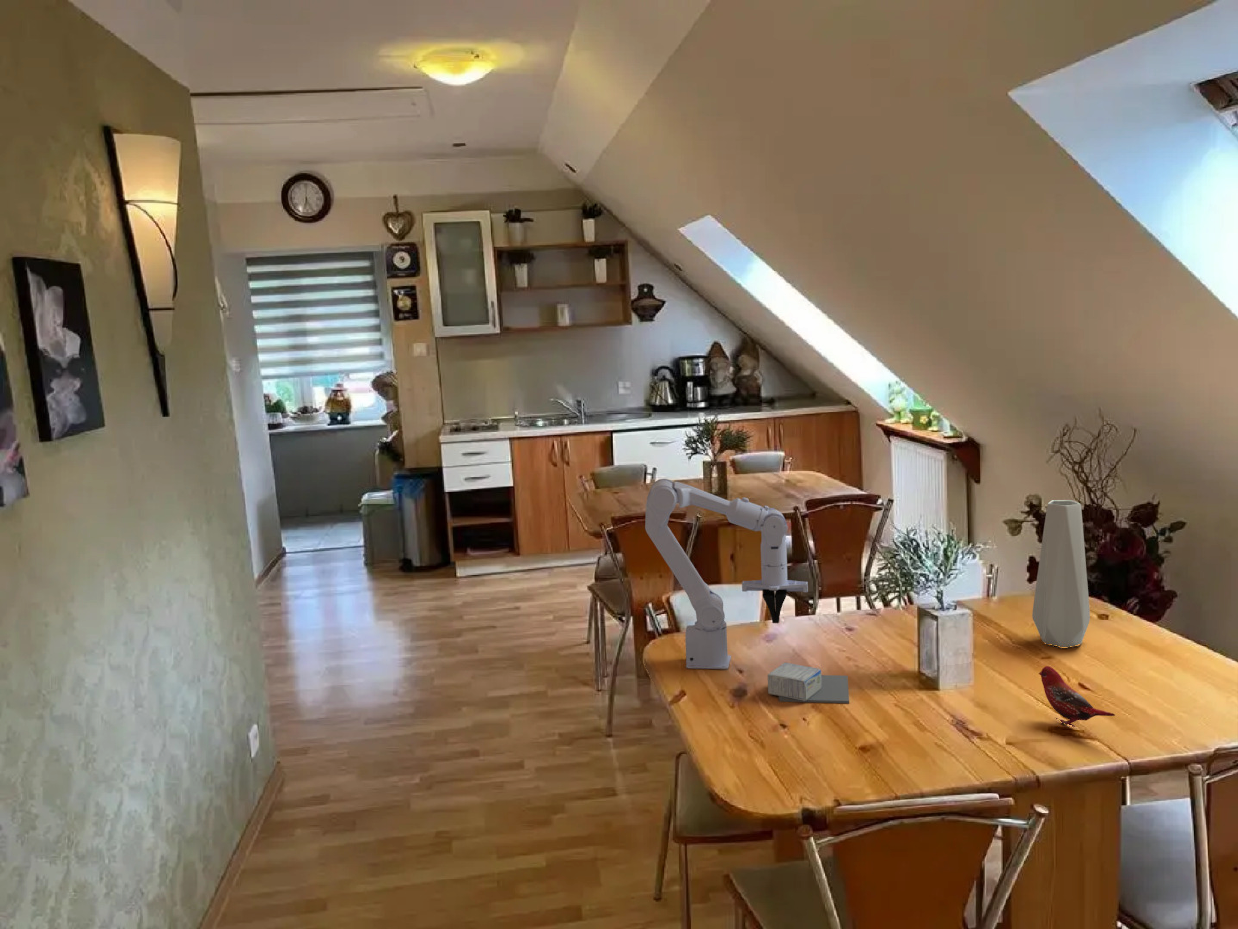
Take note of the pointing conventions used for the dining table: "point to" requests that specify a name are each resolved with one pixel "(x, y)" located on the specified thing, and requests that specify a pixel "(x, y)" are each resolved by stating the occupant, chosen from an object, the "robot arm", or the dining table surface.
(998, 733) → the dining table surface
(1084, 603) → the vase
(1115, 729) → the dining table surface
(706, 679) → the dining table surface
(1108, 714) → the decorative bird figurine
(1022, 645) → the dining table surface
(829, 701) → the mat
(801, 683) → the medicine box
